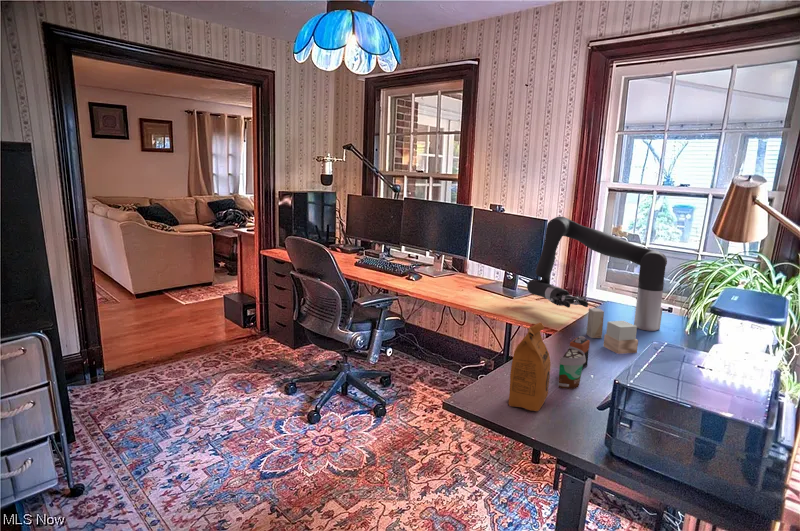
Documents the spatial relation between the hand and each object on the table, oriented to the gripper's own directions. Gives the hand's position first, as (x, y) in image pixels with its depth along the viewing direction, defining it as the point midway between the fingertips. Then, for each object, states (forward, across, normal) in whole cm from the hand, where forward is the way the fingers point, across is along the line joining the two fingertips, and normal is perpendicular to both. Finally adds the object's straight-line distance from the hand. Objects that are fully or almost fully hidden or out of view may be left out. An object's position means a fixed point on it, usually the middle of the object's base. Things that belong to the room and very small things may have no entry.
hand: (578, 305), depth 192 cm
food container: (+50, -36, +10) cm, 63 cm away
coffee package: (+58, -55, +10) cm, 81 cm away
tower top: (+26, 0, +5) cm, 27 cm away
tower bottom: (+26, 0, +10) cm, 28 cm away
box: (+12, 0, +10) cm, 15 cm away
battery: (+38, -26, +10) cm, 47 cm away
